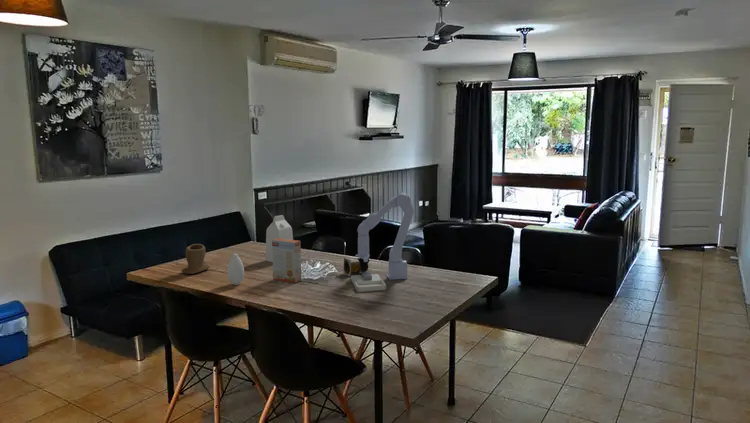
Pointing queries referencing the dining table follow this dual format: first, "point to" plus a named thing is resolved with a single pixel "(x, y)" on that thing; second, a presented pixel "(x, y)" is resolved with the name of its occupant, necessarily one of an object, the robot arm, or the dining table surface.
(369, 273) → the tile rear
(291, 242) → the cracker box
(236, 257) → the white vase
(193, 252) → the stone cup
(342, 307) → the dining table surface
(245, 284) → the dining table surface
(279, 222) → the milk
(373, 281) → the board
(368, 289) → the tray
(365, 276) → the tile front
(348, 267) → the condiment
